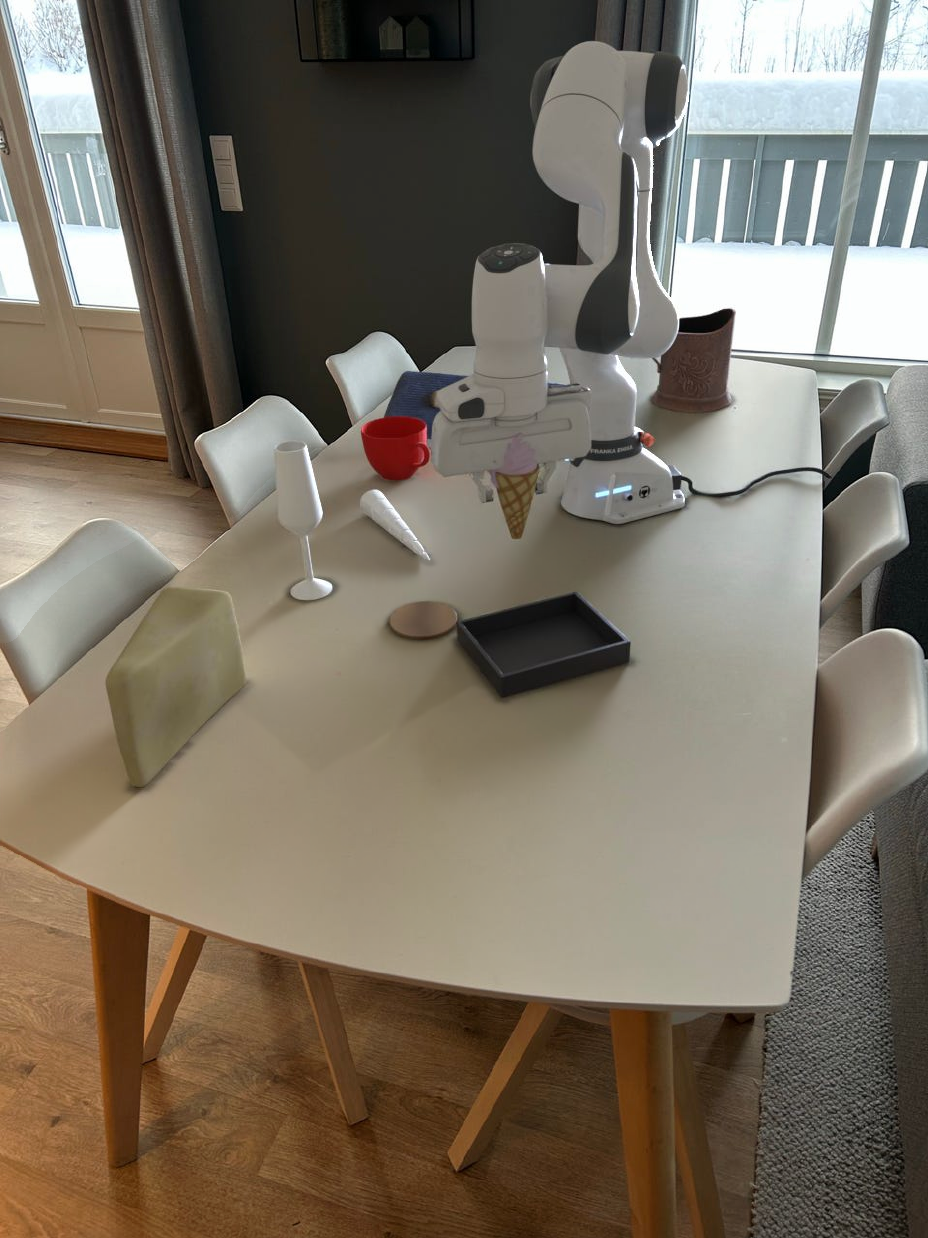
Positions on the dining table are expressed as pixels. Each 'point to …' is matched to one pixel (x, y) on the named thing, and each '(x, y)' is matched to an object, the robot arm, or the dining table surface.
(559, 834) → the dining table surface
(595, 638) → the tray
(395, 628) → the coaster
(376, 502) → the unicorn horn
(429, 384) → the mat
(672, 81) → the robot arm
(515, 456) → the ice cream cone
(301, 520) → the champagne flute
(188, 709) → the cheese
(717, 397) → the cup holder
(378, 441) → the ceramic cup
